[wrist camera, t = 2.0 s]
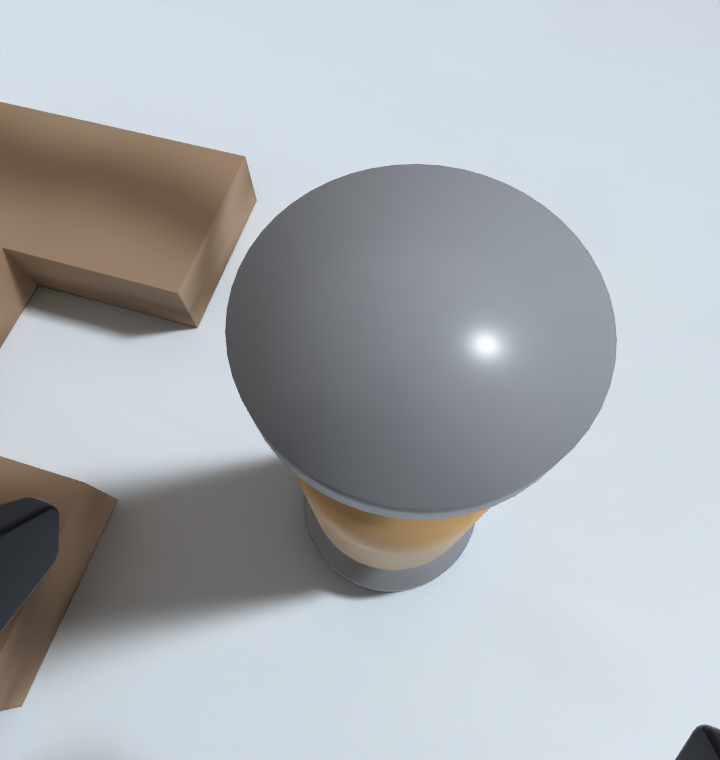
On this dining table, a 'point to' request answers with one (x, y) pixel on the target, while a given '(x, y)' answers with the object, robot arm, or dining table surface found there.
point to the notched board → (100, 292)
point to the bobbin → (417, 358)
